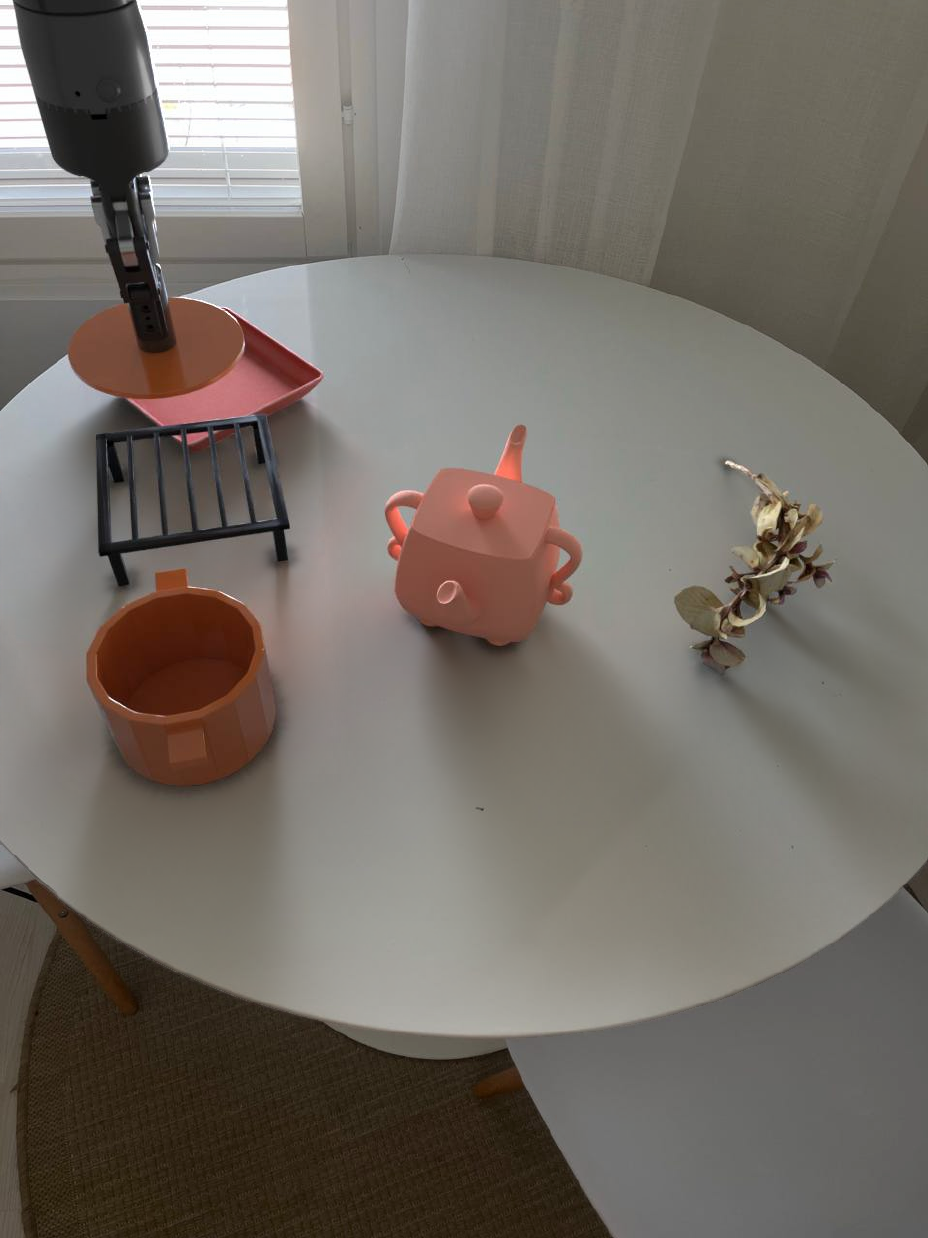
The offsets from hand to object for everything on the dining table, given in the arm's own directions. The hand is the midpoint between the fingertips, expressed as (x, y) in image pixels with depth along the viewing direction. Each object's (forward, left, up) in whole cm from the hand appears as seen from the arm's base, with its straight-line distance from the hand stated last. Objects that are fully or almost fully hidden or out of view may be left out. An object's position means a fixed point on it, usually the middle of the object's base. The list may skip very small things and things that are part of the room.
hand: (152, 323), depth 70 cm
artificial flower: (+49, -17, -21) cm, 56 cm away
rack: (0, 0, -21) cm, 21 cm away
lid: (0, 0, -2) cm, 2 cm away
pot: (-2, -23, -21) cm, 31 cm away
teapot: (+23, -16, -21) cm, 35 cm away
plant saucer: (+3, +19, -21) cm, 29 cm away
